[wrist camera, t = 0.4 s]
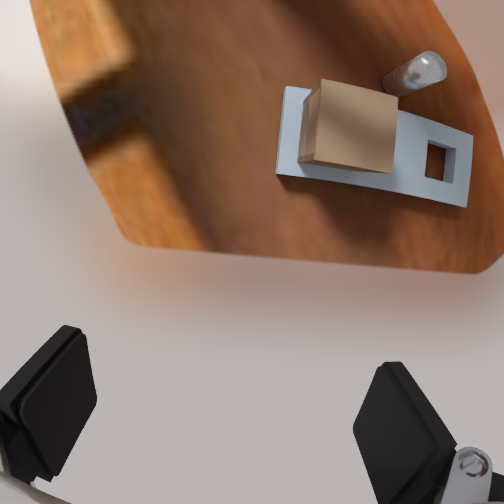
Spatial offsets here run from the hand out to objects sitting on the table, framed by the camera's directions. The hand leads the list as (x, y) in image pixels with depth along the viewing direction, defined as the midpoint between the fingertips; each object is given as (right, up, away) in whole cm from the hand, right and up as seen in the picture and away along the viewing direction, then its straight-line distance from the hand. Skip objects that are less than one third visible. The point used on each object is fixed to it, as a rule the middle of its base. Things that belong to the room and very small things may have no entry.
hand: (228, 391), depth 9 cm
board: (+17, +17, +26) cm, 35 cm away
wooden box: (+9, +17, +23) cm, 30 cm away
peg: (+19, +25, +23) cm, 39 cm away
